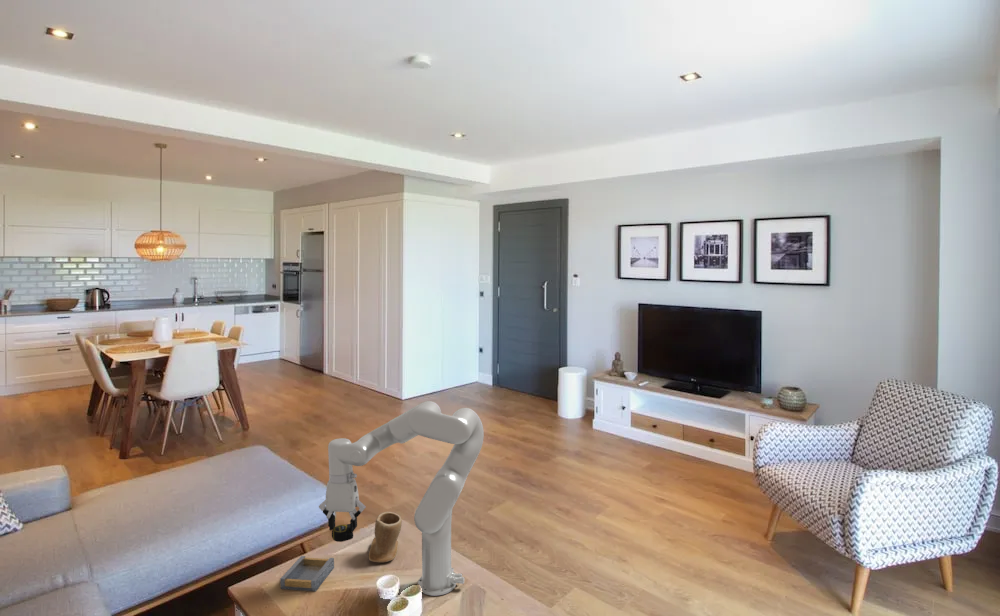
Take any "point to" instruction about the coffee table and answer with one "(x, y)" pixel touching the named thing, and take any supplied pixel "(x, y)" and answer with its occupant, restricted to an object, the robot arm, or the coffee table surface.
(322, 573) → the shallow grey tray
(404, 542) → the coffee table surface
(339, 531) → the tape measure
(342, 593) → the coffee table surface
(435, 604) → the coffee table surface
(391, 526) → the brown boot
